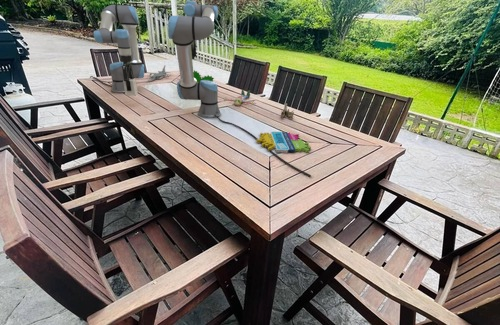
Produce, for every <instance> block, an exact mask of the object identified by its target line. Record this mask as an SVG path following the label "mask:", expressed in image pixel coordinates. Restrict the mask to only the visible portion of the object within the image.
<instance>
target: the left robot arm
mask: <svg viewBox="0 0 500 325" xmlns="http://www.w3.org/2000/svg"><path fill="white" fill-rule="evenodd" d="M100 18H101V19H100V20H101V21H100V25H99V28H98V29H97V30H94V31H93V38H94V41H95V42H96V43H99V44H115V45H117V51H118V54H119V61H117V62H112V63H110V64H109V71H110V77H111V85H110V84H108V83H106V82H104V81H102V80H100V79H99V78H97V77H95V76H92V75H90V76H89V79H91V78H93V79H95V80H97V81H99V82H100V83H101V84H102V85H105V86H108V87H110V88H111V92H112V93H116V94H125V89H124V83H123V81H126V87H127V91H131V85H130V81H129V79H136V80H137V79H138V80H139V79H144V78H145V64H143V61H142V60H141V58H140V53H139V52H140V51H139V44H138V37H137V36H138V34H137V27H138V24H139V23H140V21H139V17H138V12H137V9H136V7H134V6H133V5H124V4H123V5H122V4H110V5H108V6H106V7H104V8H102V11H101V12H100ZM115 23H120V25H121V26H122V27H123V29H122V28H118V29H115V30H114V31H113V27H114V24H115Z"/></svg>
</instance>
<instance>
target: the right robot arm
mask: <svg viewBox="0 0 500 325" xmlns="http://www.w3.org/2000/svg"><path fill="white" fill-rule="evenodd" d="M218 8H219V7H218V6H217V5H209V4H208V5H207V4H197V1H195V0H186V1H185V5H184V6H183V13H184V15H179V14H178V15H170V16H169V18H168V23H167V25H168V26H167V35H168V39H169V40H172V43H173V44H174V45H175V49H176V56H177V62H178V63H177V64H178V69H179V77H180V78H179V79H178V81H177V82H176V91H177V95H178V97H179V99H181V100H185V101H188V100H189V101H191V100H192V101H200V106H199V109H198V116H199V117H201V118H205V119H214V118H217V119H218V120H219V121H220V122H222V123H224V124H228V125H233V126H235V127H237V128H238V129H240V130H242V131H244V132H246V133H247V134H248V135H250V136H251V137H253V139H255V140H256V141H257V139H258V137H256V136H255V135H254V134H253V133H252V132H249V131H248V130H247V129H244V128H243V127H241V126H239V125H236V124H235V123H232V122H229V121H225V120H222V118H220V117H221V110H220V108H219V102H218V96H219V94H218V93H219V88H218V84H217V82H215V81H214V80H213V81H209V80H201V81H200V83H198V82H197V81H196V79H195V78H194V73H193V72H194V63H193V60H195V58H197V48H198V46H197V41H203V40H205V39H208V38H209V37H210V36H211V35H212V34H213V33H214V31H215V22H214V20H215V19H218V18H219V17H218V14H219V12H218V11H219V10H218ZM259 144H261V145H262V142H260V143H259ZM264 148H265V145H264ZM265 149H266V150H268V147H266V148H265ZM268 152H270V153H271V154H272V155H274V156H275V157H276V158H277V159H279V160H280V161H281V162H283V163H285V164H286V165H287V166H289V167H291V168H292V169H294V170H296V171H298V172H300V173H302V174H303V175H306V176H307V177H309V178H310V177H312V174H310V173H307V172H306V171H303V170H301V169H300V168H298V167H296V166H294V165H292V164H291V163H289V162H288V161H286V160H285V159H283V158H282V157H280V156H279V155H278V154H276V153H275V152H274V151H273V150H272V149H271V150H269V151H268Z"/></svg>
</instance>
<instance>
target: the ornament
mask: <svg viewBox="0 0 500 325" xmlns="http://www.w3.org/2000/svg"><path fill="white" fill-rule="evenodd" d="M193 73H194V78H195V79H196V81H197V82H198V83H200V81H201V80H209V81H213V82H214V79H215V77H213V76H212V75H209V74H208V75H204V76H202V75H201V74H200V72H198V71H197V70H195V69H193Z"/></svg>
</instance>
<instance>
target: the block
mask: <svg viewBox="0 0 500 325" xmlns="http://www.w3.org/2000/svg"><path fill="white" fill-rule="evenodd" d="M129 81H130V85H131V91H127V87H126V81H123V83H124V89H125V93H124V94H125V96H131V97H136V96H137V95H138V94H139V91H138V84H137V79H129Z"/></svg>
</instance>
